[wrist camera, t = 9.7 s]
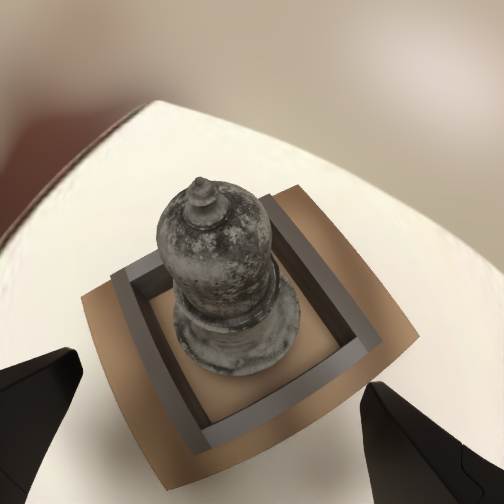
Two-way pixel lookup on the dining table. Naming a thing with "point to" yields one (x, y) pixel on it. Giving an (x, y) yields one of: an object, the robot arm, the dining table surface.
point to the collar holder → (252, 386)
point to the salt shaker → (226, 280)
